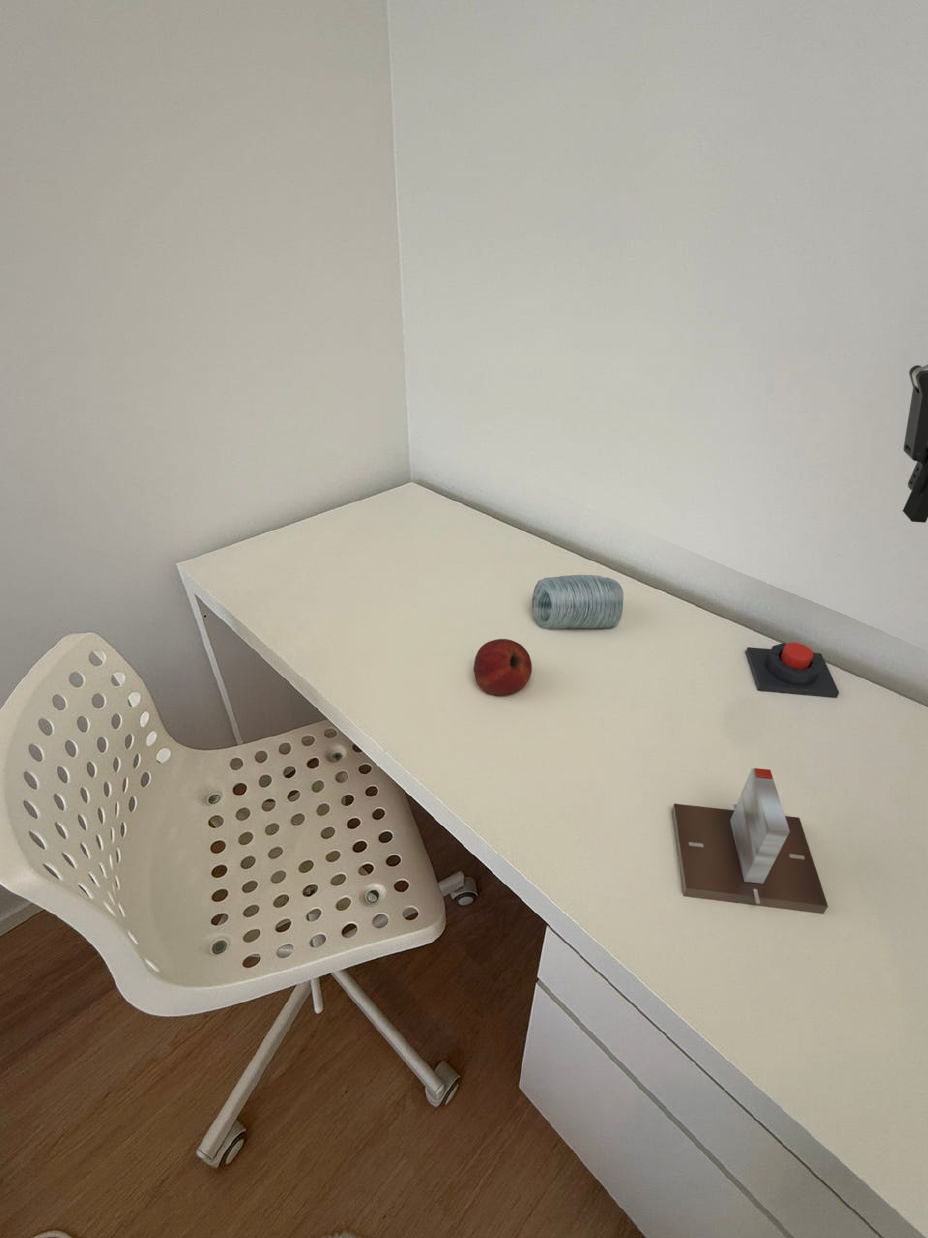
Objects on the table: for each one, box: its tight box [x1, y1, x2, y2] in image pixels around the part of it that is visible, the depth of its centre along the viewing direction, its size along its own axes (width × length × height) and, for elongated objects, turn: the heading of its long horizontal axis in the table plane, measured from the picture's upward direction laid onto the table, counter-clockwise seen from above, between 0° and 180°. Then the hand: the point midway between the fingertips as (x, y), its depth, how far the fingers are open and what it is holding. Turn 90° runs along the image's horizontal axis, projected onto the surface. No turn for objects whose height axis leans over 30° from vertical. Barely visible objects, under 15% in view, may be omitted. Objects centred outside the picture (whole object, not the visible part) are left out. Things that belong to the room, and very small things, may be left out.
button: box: [781, 642, 814, 669], centre depth 86 cm, size 4×4×2 cm
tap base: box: [671, 803, 829, 915], centre depth 66 cm, size 13×11×3 cm
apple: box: [473, 638, 533, 697], centre depth 86 cm, size 7×8×8 cm
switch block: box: [745, 642, 840, 699], centre depth 88 cm, size 10×8×4 cm
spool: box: [531, 574, 624, 630], centre depth 97 cm, size 14×10×10 cm
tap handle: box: [730, 767, 790, 884], centre depth 63 cm, size 7×2×9 cm, turn 173°
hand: (913, 516), depth 76 cm, fingers closed
